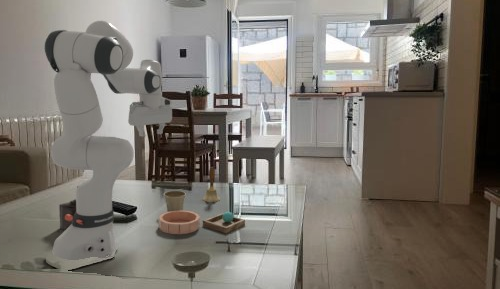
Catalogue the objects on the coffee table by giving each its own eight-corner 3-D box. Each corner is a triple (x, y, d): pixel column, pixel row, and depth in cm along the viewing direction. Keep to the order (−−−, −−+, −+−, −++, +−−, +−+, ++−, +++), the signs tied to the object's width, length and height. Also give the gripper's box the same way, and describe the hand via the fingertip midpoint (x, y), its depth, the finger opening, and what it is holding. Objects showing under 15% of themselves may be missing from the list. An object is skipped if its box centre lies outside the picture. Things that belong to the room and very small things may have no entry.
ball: (227, 218, 166) (233, 211, 169) (219, 215, 169) (225, 208, 171) (230, 226, 169) (236, 218, 171) (221, 222, 171) (228, 215, 174)
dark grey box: (57, 228, 159) (55, 182, 156) (83, 220, 168) (82, 177, 164) (81, 239, 150) (79, 190, 147) (107, 230, 159) (107, 184, 156)
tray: (226, 233, 160) (226, 228, 160) (202, 225, 167) (202, 220, 167) (244, 224, 170) (245, 219, 170) (222, 217, 177) (222, 213, 177)
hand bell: (219, 202, 197) (220, 169, 194) (201, 201, 197) (202, 168, 194) (220, 197, 205) (221, 165, 202) (203, 196, 205) (204, 164, 203)
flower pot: (164, 217, 175) (164, 197, 173) (162, 210, 184) (162, 191, 182) (187, 216, 177) (187, 196, 176) (184, 208, 186) (184, 190, 185)
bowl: (179, 237, 154) (179, 227, 154) (150, 227, 163) (150, 217, 163) (207, 226, 167) (207, 216, 166) (179, 217, 176) (179, 207, 175)
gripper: (135, 102, 159) (135, 138, 162) (174, 100, 176) (174, 133, 178) (124, 101, 163) (125, 136, 165) (164, 99, 179) (164, 131, 182)
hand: (151, 134), depth 172 cm, fingers open, 8 cm apart
